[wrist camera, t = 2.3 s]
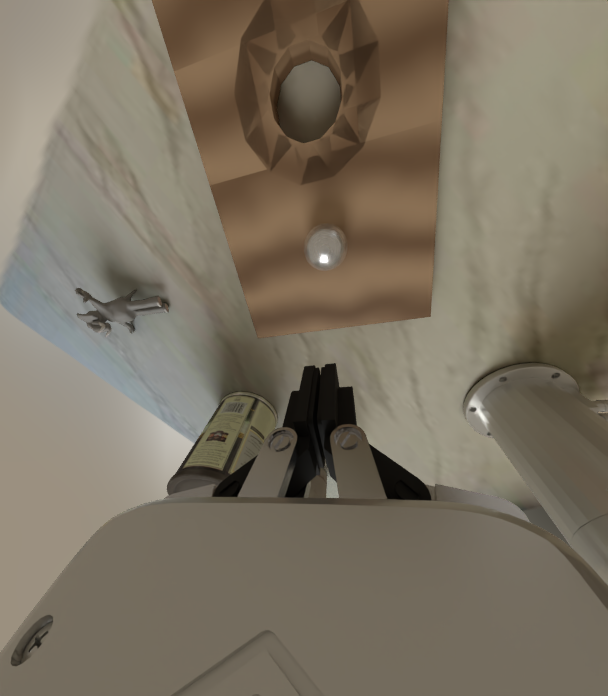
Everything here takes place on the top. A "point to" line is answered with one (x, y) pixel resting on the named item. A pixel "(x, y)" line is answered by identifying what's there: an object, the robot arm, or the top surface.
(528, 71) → the top surface
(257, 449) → the coffee can
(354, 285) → the deck
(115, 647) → the robot arm
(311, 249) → the ball
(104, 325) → the grey toy figure
